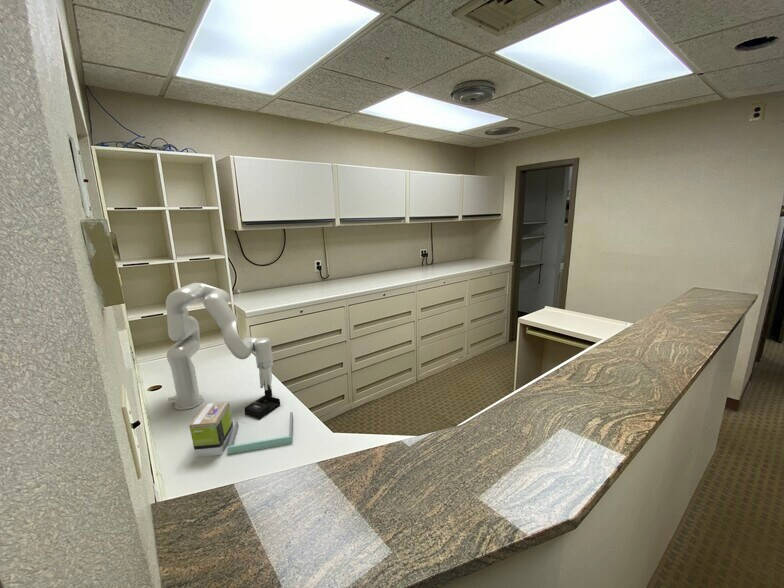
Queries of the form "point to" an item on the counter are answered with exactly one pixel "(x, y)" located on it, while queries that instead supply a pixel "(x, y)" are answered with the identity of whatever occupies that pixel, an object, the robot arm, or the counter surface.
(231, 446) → the dock
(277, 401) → the battery charger
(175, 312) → the robot arm
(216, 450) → the tea box
